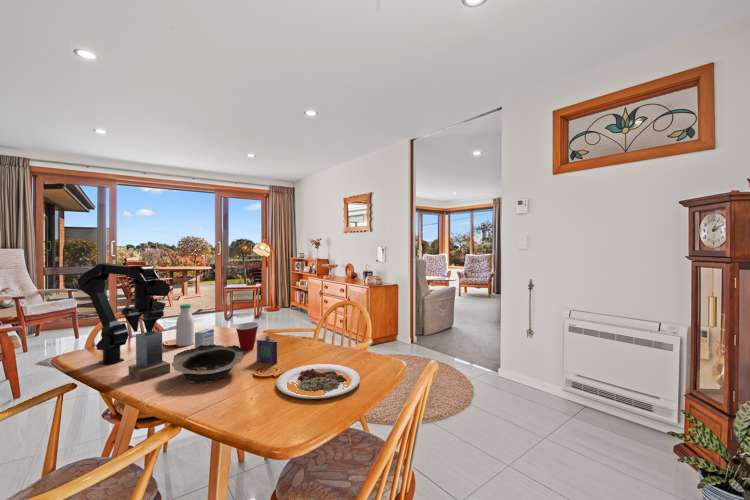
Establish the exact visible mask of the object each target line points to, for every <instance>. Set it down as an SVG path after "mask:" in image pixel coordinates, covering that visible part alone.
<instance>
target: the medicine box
mask: <svg viewBox="0 0 750 500" xmlns="http://www.w3.org/2000/svg"><path fill="white" fill-rule="evenodd" d="M214 344H215V329H214V328H204V329H202V330H199V331H196V332H194V348H196V347H198V346H201V345H204V346H205V345H214Z"/></svg>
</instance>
